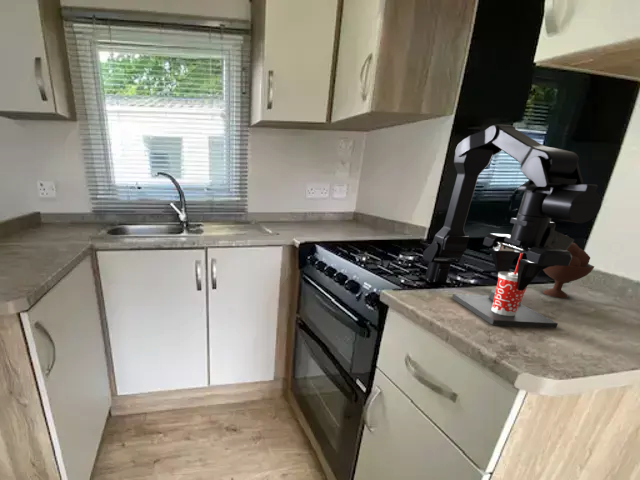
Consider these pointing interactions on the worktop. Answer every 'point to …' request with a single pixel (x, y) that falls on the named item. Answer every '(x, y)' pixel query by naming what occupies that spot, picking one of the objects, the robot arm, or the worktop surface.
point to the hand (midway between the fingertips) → (510, 285)
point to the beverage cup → (507, 293)
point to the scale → (521, 318)
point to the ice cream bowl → (568, 271)
